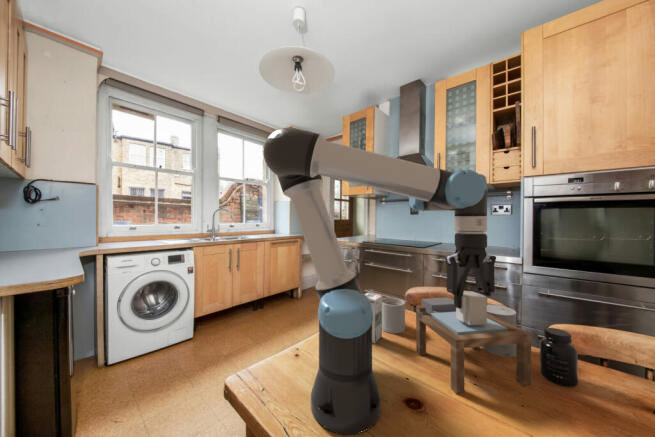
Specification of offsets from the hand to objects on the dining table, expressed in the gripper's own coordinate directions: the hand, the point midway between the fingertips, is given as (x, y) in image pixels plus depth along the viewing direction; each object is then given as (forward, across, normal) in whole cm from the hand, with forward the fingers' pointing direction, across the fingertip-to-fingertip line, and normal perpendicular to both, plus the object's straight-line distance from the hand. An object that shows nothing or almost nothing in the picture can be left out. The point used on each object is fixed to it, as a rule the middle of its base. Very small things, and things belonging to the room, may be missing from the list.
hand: (470, 319), depth 64 cm
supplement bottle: (+14, +19, -6) cm, 25 cm away
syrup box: (+14, -21, +20) cm, 32 cm away
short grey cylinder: (+14, +16, +8) cm, 23 cm away
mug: (+14, -10, +28) cm, 32 cm away
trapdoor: (+4, 0, +6) cm, 7 cm away
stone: (0, 0, 0) cm, 0 cm away
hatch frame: (+14, 0, +2) cm, 14 cm away
